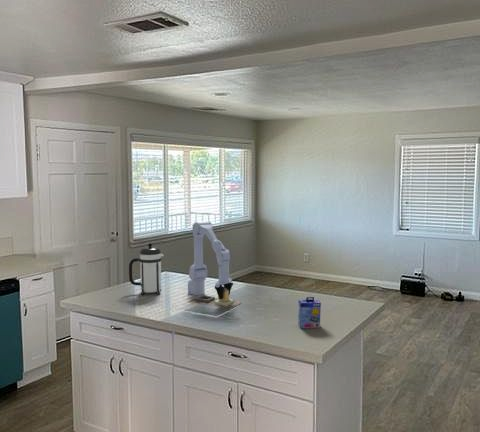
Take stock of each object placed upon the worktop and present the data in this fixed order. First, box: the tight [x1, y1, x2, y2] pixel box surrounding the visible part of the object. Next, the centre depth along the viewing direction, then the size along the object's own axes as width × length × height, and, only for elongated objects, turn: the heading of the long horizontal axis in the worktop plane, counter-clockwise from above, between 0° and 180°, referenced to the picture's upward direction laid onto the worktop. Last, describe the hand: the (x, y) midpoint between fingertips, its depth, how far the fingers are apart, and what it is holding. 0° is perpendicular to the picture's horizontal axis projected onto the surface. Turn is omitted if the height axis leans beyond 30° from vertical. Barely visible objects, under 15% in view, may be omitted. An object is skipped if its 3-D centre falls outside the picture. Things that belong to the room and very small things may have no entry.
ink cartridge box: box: [297, 296, 322, 329], centre depth 225 cm, size 10×6×14 cm, turn 95°
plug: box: [219, 289, 230, 302], centre depth 260 cm, size 4×4×8 cm
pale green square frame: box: [214, 298, 235, 306], centre depth 260 cm, size 8×8×2 cm
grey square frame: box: [196, 294, 216, 303], centre depth 266 cm, size 8×8×2 cm
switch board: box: [188, 295, 243, 311], centre depth 263 cm, size 26×14×1 cm, turn 61°
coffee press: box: [128, 242, 165, 296], centre depth 284 cm, size 17×16×30 cm
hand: (224, 297), depth 260 cm, fingers open, 6 cm apart
